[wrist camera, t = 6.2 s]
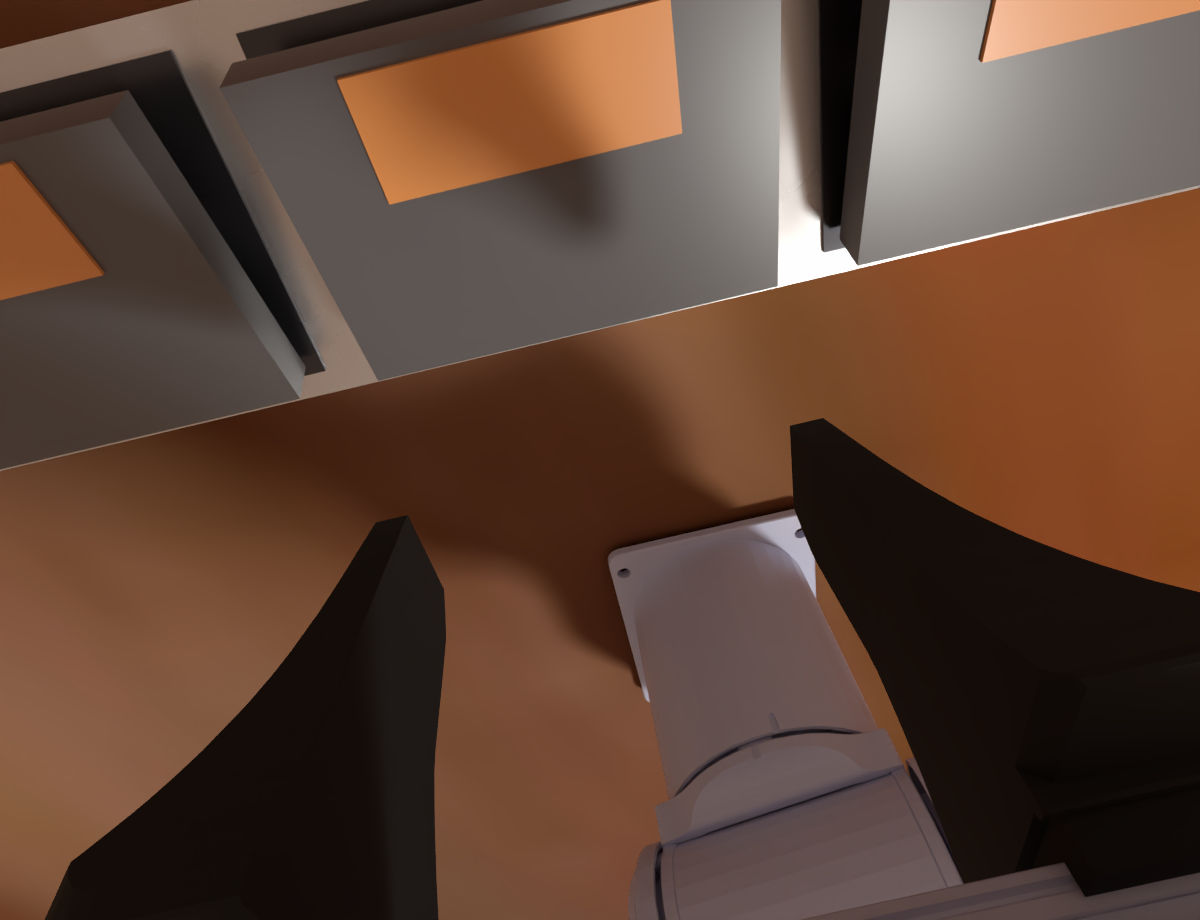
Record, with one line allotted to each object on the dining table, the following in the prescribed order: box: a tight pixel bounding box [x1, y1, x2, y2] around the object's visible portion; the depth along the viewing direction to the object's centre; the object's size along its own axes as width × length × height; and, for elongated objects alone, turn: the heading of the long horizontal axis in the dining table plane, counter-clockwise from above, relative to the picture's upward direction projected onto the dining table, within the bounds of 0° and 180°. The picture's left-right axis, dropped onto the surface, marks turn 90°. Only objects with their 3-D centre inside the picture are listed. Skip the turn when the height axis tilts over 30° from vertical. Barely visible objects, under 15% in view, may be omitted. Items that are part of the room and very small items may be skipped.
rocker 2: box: [219, 0, 781, 381], centre depth 16 cm, size 7×10×2 cm
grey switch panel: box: [0, 0, 1200, 471], centre depth 18 cm, size 9×37×3 cm, turn 102°
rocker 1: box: [0, 90, 306, 469], centre depth 16 cm, size 7×10×2 cm
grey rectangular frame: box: [839, 0, 1200, 266], centre depth 15 cm, size 7×10×2 cm
